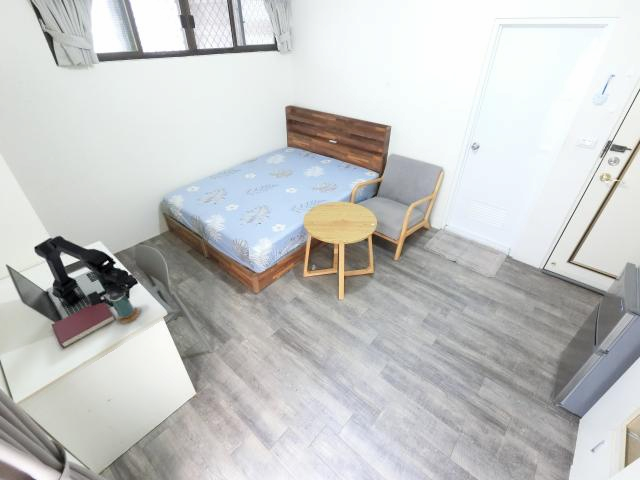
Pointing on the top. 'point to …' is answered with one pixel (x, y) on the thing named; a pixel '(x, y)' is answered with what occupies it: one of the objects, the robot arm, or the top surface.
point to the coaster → (130, 318)
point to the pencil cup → (122, 306)
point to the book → (82, 323)
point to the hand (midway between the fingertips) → (120, 302)
